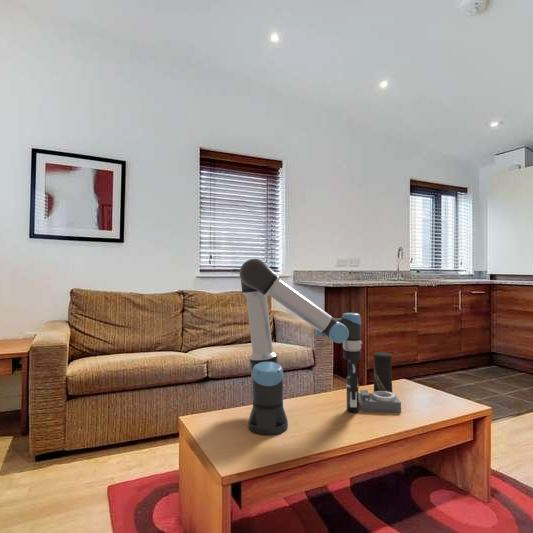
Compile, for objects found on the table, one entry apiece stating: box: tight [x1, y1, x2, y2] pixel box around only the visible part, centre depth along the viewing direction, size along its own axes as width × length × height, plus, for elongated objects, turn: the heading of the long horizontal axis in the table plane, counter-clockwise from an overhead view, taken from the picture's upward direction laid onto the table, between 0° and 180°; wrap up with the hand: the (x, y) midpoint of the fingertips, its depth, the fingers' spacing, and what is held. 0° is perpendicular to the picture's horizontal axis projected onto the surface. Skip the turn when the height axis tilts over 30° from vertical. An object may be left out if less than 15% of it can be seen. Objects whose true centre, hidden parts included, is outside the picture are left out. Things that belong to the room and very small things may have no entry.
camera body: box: [359, 389, 402, 413], centre depth 164 cm, size 16×11×6 cm
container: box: [372, 351, 393, 393], centre depth 180 cm, size 9×9×20 cm
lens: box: [345, 375, 360, 414], centre depth 159 cm, size 5×5×14 cm
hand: (352, 404), depth 159 cm, fingers closed on lens, 5 cm apart
